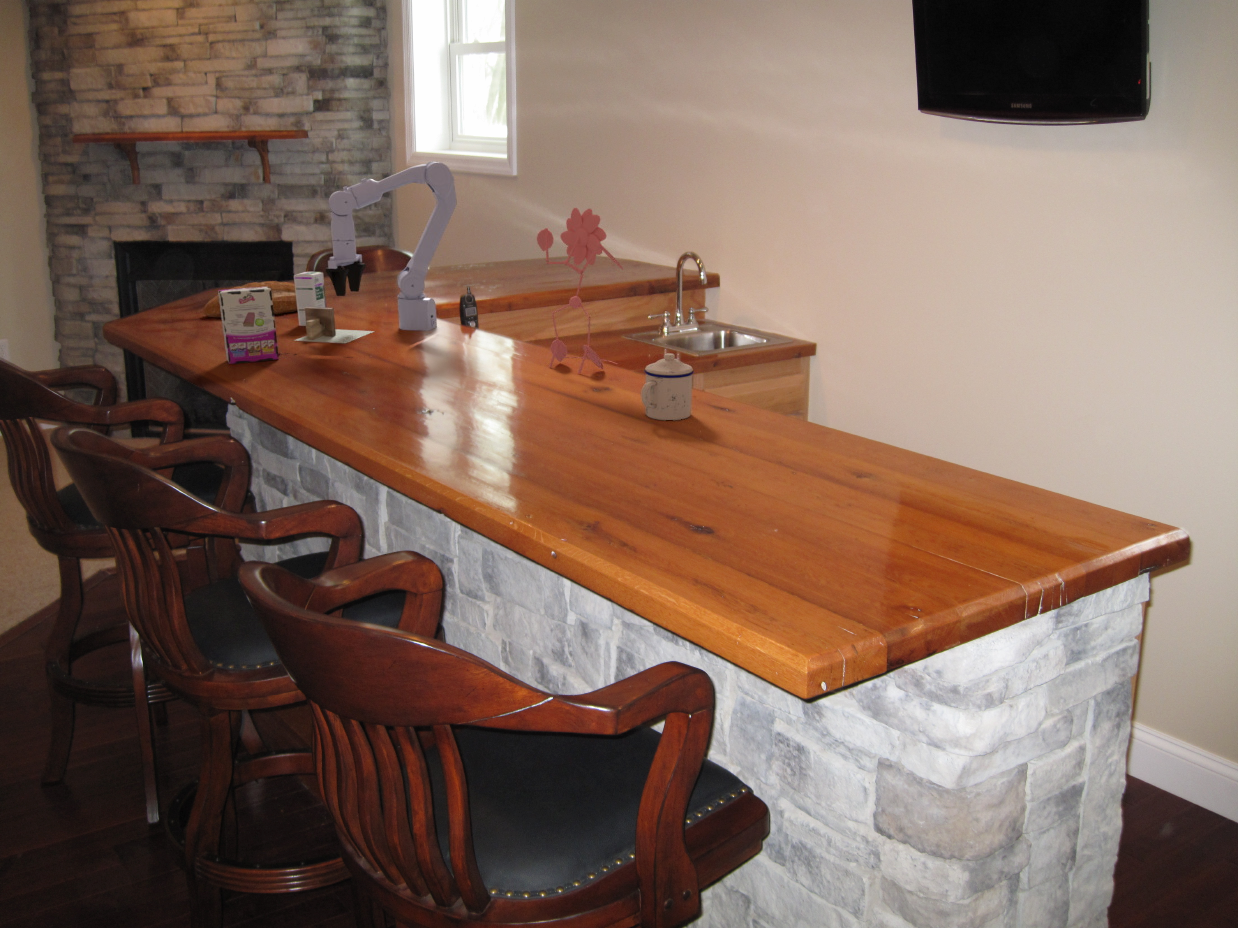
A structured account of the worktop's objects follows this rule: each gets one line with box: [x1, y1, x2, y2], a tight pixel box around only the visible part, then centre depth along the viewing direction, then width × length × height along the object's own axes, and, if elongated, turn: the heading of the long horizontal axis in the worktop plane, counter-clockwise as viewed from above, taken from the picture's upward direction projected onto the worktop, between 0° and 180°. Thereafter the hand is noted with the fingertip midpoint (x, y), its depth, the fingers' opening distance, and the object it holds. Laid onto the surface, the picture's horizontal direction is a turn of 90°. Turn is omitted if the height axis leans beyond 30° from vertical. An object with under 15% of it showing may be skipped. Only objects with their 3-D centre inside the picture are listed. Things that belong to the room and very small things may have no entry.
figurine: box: [536, 207, 624, 378], centre depth 226 cm, size 15×26×35 cm, turn 49°
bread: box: [202, 280, 298, 319], centre depth 295 cm, size 18×35×9 cm, turn 133°
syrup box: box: [293, 271, 328, 327], centre depth 272 cm, size 6×6×14 cm
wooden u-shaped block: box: [305, 319, 325, 340], centre depth 258 cm, size 1×12×5 cm, turn 167°
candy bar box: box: [217, 287, 280, 365], centre depth 232 cm, size 11×5×16 cm, turn 118°
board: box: [293, 328, 375, 344], centre depth 258 cm, size 14×16×1 cm
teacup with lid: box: [640, 352, 694, 421], centre depth 188 cm, size 12×9×12 cm
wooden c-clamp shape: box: [305, 307, 336, 337], centre depth 258 cm, size 7×2×7 cm, turn 78°
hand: (347, 293), depth 262 cm, fingers open, 7 cm apart
